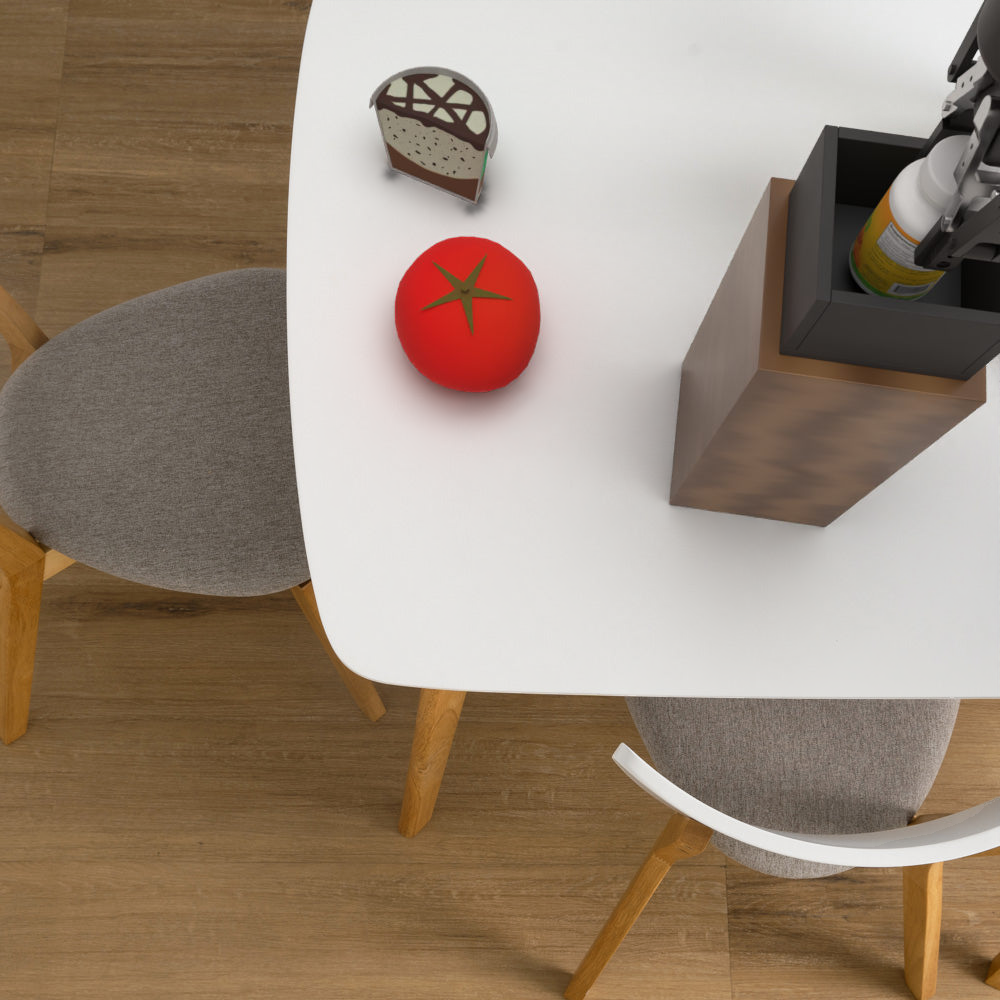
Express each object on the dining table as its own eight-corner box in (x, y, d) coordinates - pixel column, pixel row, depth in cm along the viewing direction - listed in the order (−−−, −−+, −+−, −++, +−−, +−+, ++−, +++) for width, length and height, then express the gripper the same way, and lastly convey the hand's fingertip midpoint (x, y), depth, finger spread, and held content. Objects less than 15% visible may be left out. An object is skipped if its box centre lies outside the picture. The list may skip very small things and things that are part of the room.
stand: (831, 384, 90) (985, 205, 63) (825, 527, 85) (987, 402, 59) (682, 362, 90) (771, 176, 63) (668, 504, 86) (758, 369, 59)
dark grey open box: (966, 219, 62) (1024, 151, 56) (967, 381, 59) (1028, 329, 53) (788, 194, 63) (825, 123, 56) (778, 354, 59) (816, 299, 53)
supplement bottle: (883, 212, 60) (958, 104, 51) (952, 267, 59) (1041, 167, 49) (828, 265, 59) (894, 164, 49) (897, 323, 58) (978, 230, 48)
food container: (516, 162, 96) (521, 91, 86) (490, 210, 94) (492, 143, 84) (404, 116, 97) (397, 41, 88) (376, 163, 95) (366, 92, 86)
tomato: (393, 279, 92) (383, 215, 82) (527, 269, 92) (534, 204, 82) (404, 418, 87) (395, 369, 77) (544, 407, 88) (554, 356, 78)
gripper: (1241, 127, 35) (1000, 340, 51) (1210, -164, 39) (997, 117, 56) (1035, 99, 35) (859, 320, 51) (1026, -187, 40) (867, 100, 56)
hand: (932, 214), depth 53 cm, fingers closed on supplement bottle, 5 cm apart
